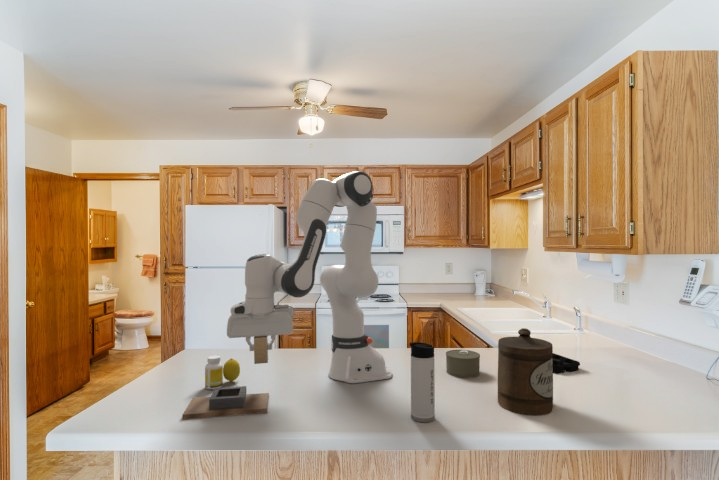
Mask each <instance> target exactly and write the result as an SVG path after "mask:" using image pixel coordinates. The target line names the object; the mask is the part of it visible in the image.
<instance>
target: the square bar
mask: <svg viewBox="0 0 719 480" xmlns="http://www.w3.org/2000/svg"><path fill="white" fill-rule="evenodd" d="M268 343H269V337H268V336H255V337H253V344H254V351H253V354H254V355H253V356H254V357H253V358H254V359H253V361H254V363H253V364H254V365H258V364H268V363H269V350H268V347H267V344H268Z"/></svg>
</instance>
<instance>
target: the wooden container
mask: <svg viewBox="0 0 719 480" xmlns="http://www.w3.org/2000/svg"><path fill="white" fill-rule="evenodd" d="M517 333H518V336H505V337H501V338H499V339H498V341H497V342H498V344H497V347H498V350H497V351H498V352H497V354H498V355H497V356H498V357H497V359H498V360H497V403H498V404H499V406H500V407H501V408H503V409H504V410H507V411H510V412H513V413H516V414H520V415H527V416H541V415H547V414H549V413H551V412H552V411H553V409H554V373H553V361H552V355H553V353H554V351H553V349H554V347H553V344H552V342H550V341H548V340H545V339H541V338H535V337H531V335H532V334H531V333H532V332H531V330H530V329H528V328H522V327H521V328H520V329H518V331H517Z"/></svg>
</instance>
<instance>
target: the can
mask: <svg viewBox="0 0 719 480" xmlns="http://www.w3.org/2000/svg"><path fill="white" fill-rule="evenodd" d="M480 357H481V355H480V353H479V352H476V351H473V350H469V349H452V350H448V351H446V352H445V359H446V362H445V365H446V366H445V367H446V370H445V372H446V373H447V374H448V375H449V376H451V377H454V378H455V377H456V378H461V379H462V378H463V379H471V378H472V379H473V378H477V377H478V376H480V371H481V370H480V367H481V366H480V361H481V360H480Z"/></svg>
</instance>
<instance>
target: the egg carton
mask: <svg viewBox="0 0 719 480" xmlns="http://www.w3.org/2000/svg"><path fill="white" fill-rule="evenodd" d="M552 361H553V375H554V374H556V375H559V374H564V373H565V372H567V373H568V372H569V373H573V372H578V371H579V366H581V363H580V361H578V360H575V359H572V358H569V357H567V356H564V355H563V356H562V355H560V354H558V353H554V352H553V355H552Z"/></svg>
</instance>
